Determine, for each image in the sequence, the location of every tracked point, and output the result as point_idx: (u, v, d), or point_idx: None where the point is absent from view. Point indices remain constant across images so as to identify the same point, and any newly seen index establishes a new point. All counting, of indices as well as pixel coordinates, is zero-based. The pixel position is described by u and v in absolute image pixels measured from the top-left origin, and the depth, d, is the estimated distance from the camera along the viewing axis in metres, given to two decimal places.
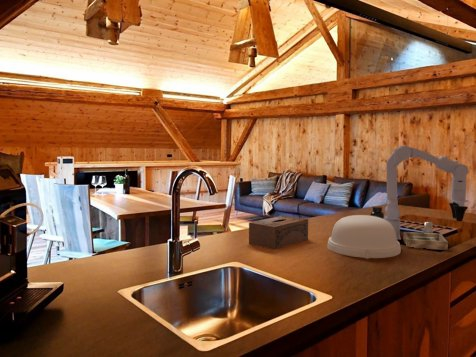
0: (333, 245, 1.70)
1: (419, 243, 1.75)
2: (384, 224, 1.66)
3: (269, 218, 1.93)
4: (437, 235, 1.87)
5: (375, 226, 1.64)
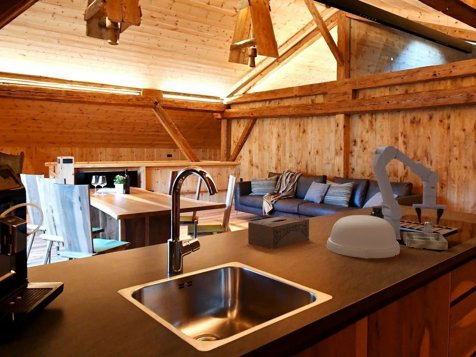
0: (332, 245, 1.70)
1: (419, 243, 1.75)
2: (383, 224, 1.66)
3: (270, 218, 1.93)
4: (437, 235, 1.87)
5: (374, 226, 1.64)
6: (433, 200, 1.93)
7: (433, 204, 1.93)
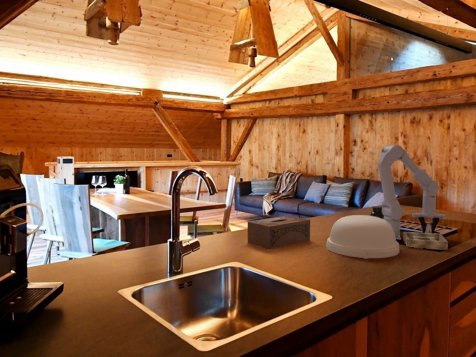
0: (332, 245, 1.70)
1: (419, 243, 1.75)
2: (383, 224, 1.66)
3: (271, 218, 1.93)
4: (437, 235, 1.87)
5: (374, 226, 1.64)
6: (433, 209, 1.93)
7: (433, 213, 1.93)
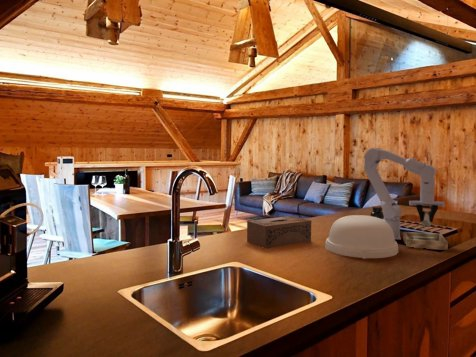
0: (330, 245, 1.70)
1: (419, 243, 1.75)
2: (381, 224, 1.66)
3: (273, 218, 1.93)
4: (437, 235, 1.87)
5: (372, 226, 1.64)
6: (431, 196, 1.82)
7: (431, 201, 1.82)
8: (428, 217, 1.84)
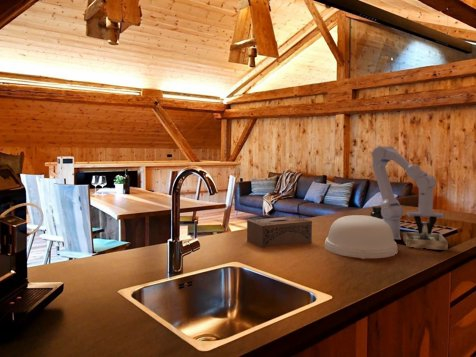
0: (329, 245, 1.70)
1: (419, 243, 1.75)
2: (381, 224, 1.66)
3: (274, 218, 1.94)
4: (437, 235, 1.87)
5: (371, 226, 1.64)
6: (429, 208, 1.78)
7: (429, 212, 1.78)
8: (426, 229, 1.80)
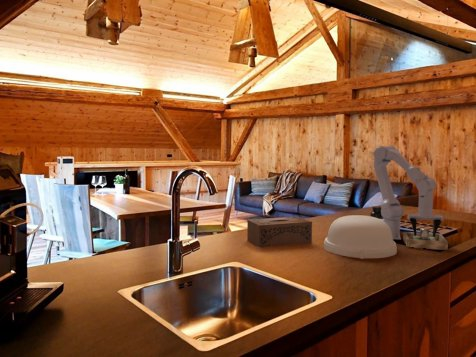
0: (329, 245, 1.70)
1: (419, 243, 1.75)
2: (380, 224, 1.66)
3: (275, 218, 1.94)
4: (437, 235, 1.87)
5: (370, 226, 1.64)
6: (429, 210, 1.78)
7: (429, 215, 1.78)
8: (426, 235, 1.80)
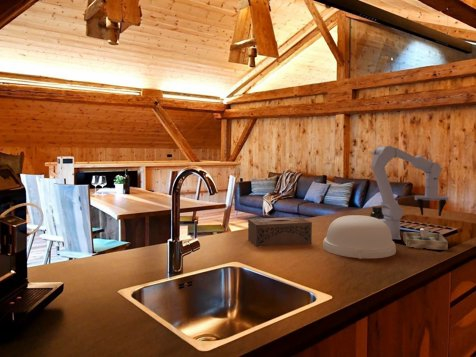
0: (327, 245, 1.70)
1: (419, 243, 1.75)
2: (379, 224, 1.66)
3: None
4: (437, 235, 1.87)
5: (369, 226, 1.64)
6: (435, 191, 1.93)
7: (435, 195, 1.93)
8: (426, 235, 1.80)
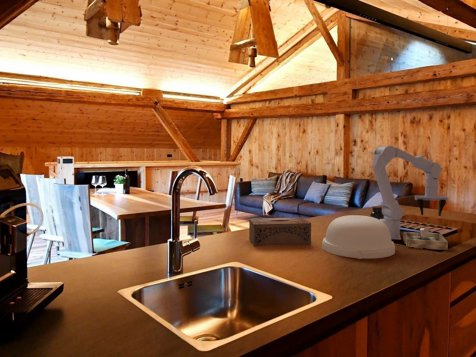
0: (326, 245, 1.70)
1: (419, 243, 1.75)
2: (378, 224, 1.66)
3: (279, 218, 1.94)
4: (437, 235, 1.87)
5: (368, 226, 1.63)
6: (435, 191, 1.93)
7: (435, 195, 1.93)
8: (426, 235, 1.80)
